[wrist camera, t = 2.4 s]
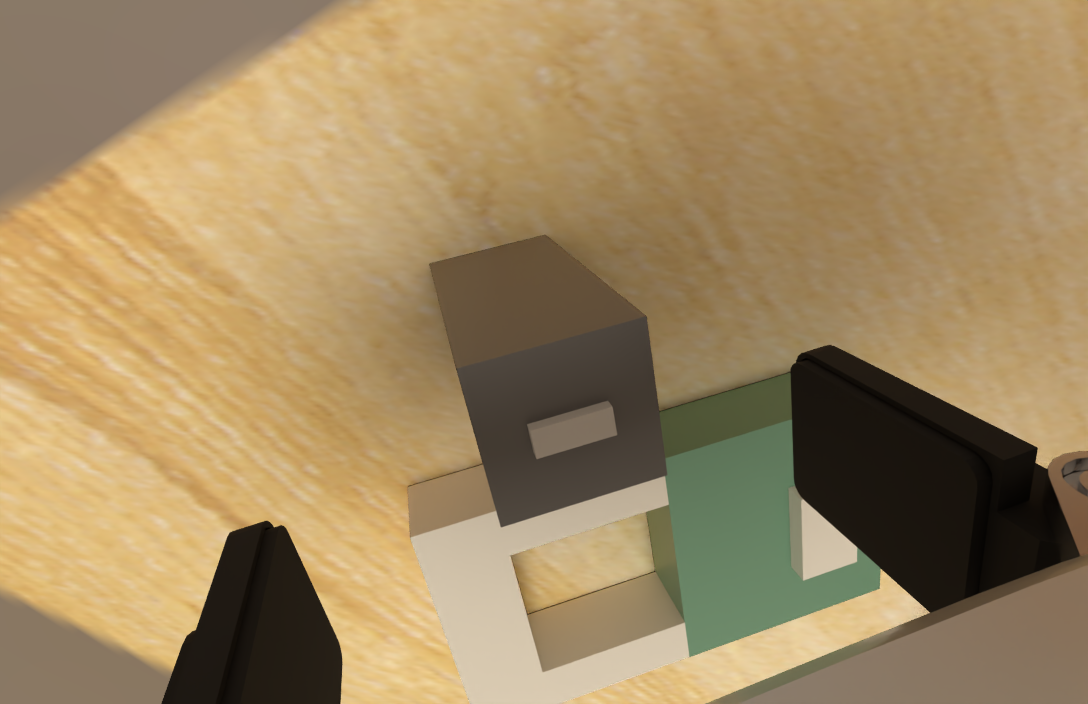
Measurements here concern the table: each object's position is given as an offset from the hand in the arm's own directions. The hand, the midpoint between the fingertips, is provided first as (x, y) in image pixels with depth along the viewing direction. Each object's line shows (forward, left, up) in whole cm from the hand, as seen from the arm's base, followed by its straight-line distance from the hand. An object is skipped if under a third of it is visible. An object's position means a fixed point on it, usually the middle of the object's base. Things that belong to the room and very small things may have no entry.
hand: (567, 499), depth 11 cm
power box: (-5, +11, -11) cm, 16 cm away
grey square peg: (-1, 0, -11) cm, 11 cm away
